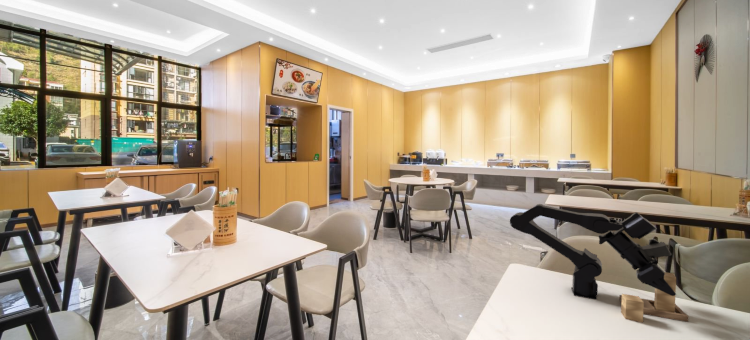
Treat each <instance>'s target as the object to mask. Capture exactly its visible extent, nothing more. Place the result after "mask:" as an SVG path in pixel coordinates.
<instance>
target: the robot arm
mask: <svg viewBox="0 0 750 340" xmlns="http://www.w3.org/2000/svg"><path fill="white" fill-rule="evenodd" d="M538 217H545V218H548V219H552V220H557V221H561V222H565V223H569V224H575V225H577V226H580V227H582V228H584V229H585V230H589V231H591V232H593V233H596V234H598V239H599V240H598V243H599V245H603V244H605V242H606V243H607V244H608V245H610V246H611V248H613V250H615V252H617V254H619V256H620V258H621V259H622V260H625V261H626V262H627V263H628V264H629V265H630V266H631V268H632V269H633V270H634V271H636V274H635V276H636V278H637V279H638V281H640V282H641V283H642V284H644V285H647V286H650V287H652V288H654V289H655V288H656V289H659V290H661V291H663V292H665V293H667V294H669V295H671V296H674V295H675V296H676V295H677V293H675V292H674V291H673V289H672V288H671V287H670V286H669V284H668V283H667V282H666V280H665V279H664V275H665V273H664V272H665V271H664V270H663V269H662V268H661V267H660V266H659V264H658V263H659V261H658V258H662V257H670V256H672V252H671V251H670V250H669V247H668V245H667V244H666V243H665V242H664V241H660V242H659V240H657V239H655V238H652V239H649V240H648V244H647V243H646V245H641V244H639V243H637V242H635V241H634V240H633V239H638V240H640V239H643V238H645V236H647V235H649V234H651V233H653V232H654V231H656V230H657V229H658V228H657V227H656V226H655V225H654V224H653V223H652V222H651V221H649V220H648V219H647V218H645V217H643V216H642V215H641V214H640V213H638V212H637V211H636V212H633V213H632V214H631V215H630V216H628V217H627V218H625V219H624V220H622V221H621V220H618V219H613V218H609V217H608V216H607V215H605V214H603V213H595V212H594V213H592V212H576V211H573V210H572V211H571V210H567V209H563V208H557V207H553V206H548V205H545V204H542V203H538V204H536V205H534V206H533V207H531V208H528V210H527V209H526V211H524V212H522V211H521V212H516V213H515V214H513V215H512V216H510V219H509V225H510V226H511V228H513V229H514V230H517V231H519V232H521V233H524V234H527V235H530V236H533V237H534V238H536V240H539V242H541V243H543V244H545V246H548V247H549V248H551V249H552V250H554V251H555V252H558V253H559V254H560V255H562V256H564V257H565V258H567V260H569V261H570V262H571V263H572V264H573V265H574V270H573V273H572V287H571V291H572V295H573V296H575V297H580V298H587V299H592V300H597V299H598V298H597V297H598V289H599V288H598V287H599V285H598V283H597V280H596V278H597V277H599V276H600V275H601V274H602V272H603V263H602V261H601V259H600V258H599V257H598V255H597V254H595V253H593V252H591V251H590V250H588V249H587V248H584V249H583V250H580V249H577V248H575V247H574V246H571V244H568V243H567V242H565V241H564V240H561V239H560V238H558V237H557V236H556V235H554V234H552V233H550V232H549V231H547V230H546V229H544V228H542V227H541V226H539V225H538V223H536V222H535V221H534V220H535V219H537V218H538Z"/></svg>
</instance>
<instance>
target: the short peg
mask: <svg viewBox="0 0 750 340" xmlns="http://www.w3.org/2000/svg"><path fill="white" fill-rule="evenodd" d="M621 295H622V303H621V307H620V313H621V315H622V316H623V319H625V320H629V321H633V322H639V323H643V322H644V314H643V307H644V302H643V301H642V300H641V299H640V298H641V297H640V296H637V295H633V294H632V295H631V294H626V293H621Z"/></svg>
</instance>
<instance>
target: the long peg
mask: <svg viewBox="0 0 750 340" xmlns="http://www.w3.org/2000/svg"><path fill="white" fill-rule="evenodd" d="M664 273H665V275H664V279H665V280H666V282H667V283H668V284H669V286H670V287H671V288H672V289H673V291H674V292H675V293H676V292H677V291H676V290H677V288H676V287H677V276H676V275H675V273H672V272H665V271H664ZM676 294H677V293H676ZM675 304H676V295H674V296H671V295H669V294H667V293H665V292H663V291H661V290H659V289H656V288H654V306H653V307H654V308H655V309H656V310H662V311H668V312H673V313H675Z"/></svg>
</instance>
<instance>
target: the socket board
mask: <svg viewBox="0 0 750 340" xmlns="http://www.w3.org/2000/svg"><path fill="white" fill-rule="evenodd" d="M640 299H641V300H642V301H643V302H644V307H643V315H648V316H649V315H650V316H655V317H660V318H666V319H671V320H675V321H676V320H677V321H682V322H689V315H687V314H686V313H685V312H684V311H683V310H682V309H681V308H680V307H679V306H678V305H677V304H676V303H675V313H673V312H668V311H662V310H656V309H655V308H654V300H653V299H648V298H647V299H646V298H641V297H640ZM619 302H621V303H622V294H619Z"/></svg>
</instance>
